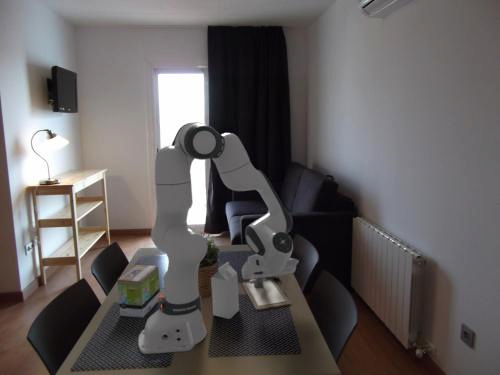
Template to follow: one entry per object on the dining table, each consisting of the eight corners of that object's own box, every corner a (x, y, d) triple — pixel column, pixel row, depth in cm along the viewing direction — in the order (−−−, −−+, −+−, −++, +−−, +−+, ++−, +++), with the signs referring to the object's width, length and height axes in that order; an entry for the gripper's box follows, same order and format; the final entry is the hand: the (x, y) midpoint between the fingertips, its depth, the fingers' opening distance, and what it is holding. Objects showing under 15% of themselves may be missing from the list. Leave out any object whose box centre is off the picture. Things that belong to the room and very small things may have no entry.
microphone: (255, 289, 159) (253, 259, 157) (252, 284, 163) (251, 256, 160) (264, 287, 160) (263, 258, 157) (261, 283, 164) (260, 254, 161)
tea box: (144, 318, 141) (140, 281, 138) (119, 316, 143) (115, 279, 140) (161, 299, 156) (158, 264, 153) (139, 297, 158) (135, 263, 155)
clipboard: (256, 310, 143) (256, 306, 143) (241, 284, 166) (241, 280, 166) (291, 304, 146) (291, 301, 146) (272, 279, 169) (272, 276, 169)
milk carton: (213, 315, 141) (210, 267, 137) (223, 306, 147) (220, 260, 143) (229, 319, 138) (226, 270, 134) (239, 310, 144) (236, 263, 140)
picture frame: (260, 280, 169) (260, 267, 168) (260, 278, 170) (259, 266, 169) (277, 277, 171) (277, 264, 170) (277, 276, 172) (276, 263, 171)
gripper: (297, 251, 140) (288, 266, 151) (243, 257, 135) (238, 272, 147) (302, 267, 137) (292, 281, 148) (247, 273, 132) (241, 288, 143)
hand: (265, 277), depth 147 cm, fingers open, 8 cm apart
